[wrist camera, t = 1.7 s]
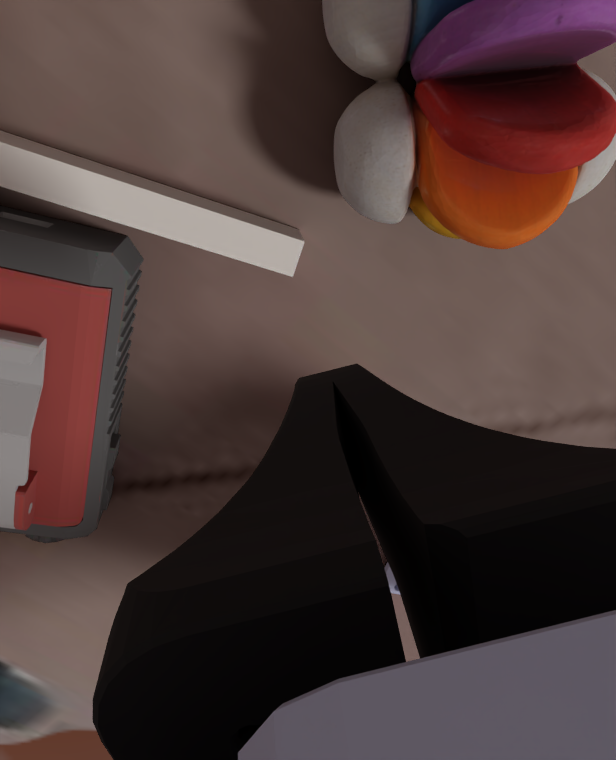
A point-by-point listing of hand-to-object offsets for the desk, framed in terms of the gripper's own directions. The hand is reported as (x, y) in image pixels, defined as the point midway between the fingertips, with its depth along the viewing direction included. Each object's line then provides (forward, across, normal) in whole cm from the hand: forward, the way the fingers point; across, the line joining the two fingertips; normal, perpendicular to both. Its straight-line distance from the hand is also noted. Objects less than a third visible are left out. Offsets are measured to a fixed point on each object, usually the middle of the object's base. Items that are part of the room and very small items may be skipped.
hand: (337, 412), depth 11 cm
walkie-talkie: (+10, +13, +3) cm, 17 cm away
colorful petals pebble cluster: (+10, -6, -5) cm, 13 cm away
